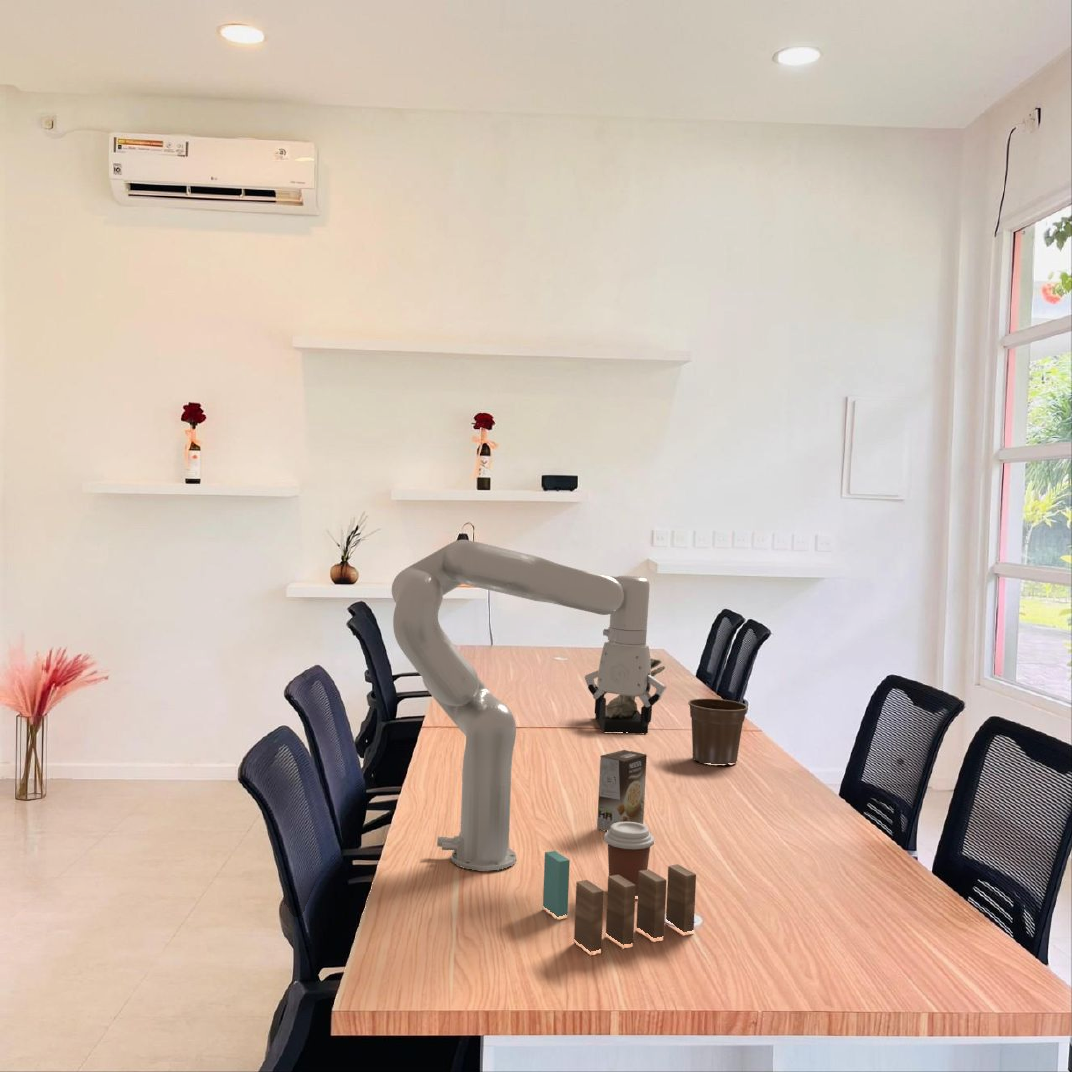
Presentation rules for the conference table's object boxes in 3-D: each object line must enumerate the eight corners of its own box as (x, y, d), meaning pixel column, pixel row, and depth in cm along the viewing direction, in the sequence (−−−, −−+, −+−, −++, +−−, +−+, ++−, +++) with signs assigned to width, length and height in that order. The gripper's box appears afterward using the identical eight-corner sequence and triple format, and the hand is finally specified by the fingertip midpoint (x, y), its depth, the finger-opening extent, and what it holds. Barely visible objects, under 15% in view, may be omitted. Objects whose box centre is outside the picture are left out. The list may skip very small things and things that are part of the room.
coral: (594, 716, 338) (596, 651, 338) (655, 717, 339) (658, 653, 338) (601, 733, 313) (604, 663, 313) (667, 735, 314) (670, 665, 313)
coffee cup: (620, 879, 192) (623, 816, 192) (661, 892, 186) (664, 827, 186) (591, 892, 185) (594, 827, 184) (633, 906, 179) (636, 839, 179)
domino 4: (683, 936, 168) (686, 876, 167) (665, 924, 172) (668, 866, 172) (693, 934, 169) (696, 874, 168) (675, 922, 173) (677, 864, 173)
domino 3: (653, 942, 165) (656, 881, 164) (636, 930, 169) (638, 871, 169) (663, 940, 166) (666, 879, 165) (646, 928, 170) (648, 869, 170)
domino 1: (590, 956, 159) (593, 892, 159) (573, 943, 163) (576, 881, 163) (601, 953, 160) (603, 890, 160) (584, 941, 164) (587, 879, 164)
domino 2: (622, 949, 162) (625, 887, 162) (605, 936, 166) (608, 876, 166) (633, 947, 163) (635, 885, 163) (615, 934, 167) (618, 874, 167)
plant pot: (742, 756, 291) (744, 699, 290) (748, 770, 275) (751, 711, 274) (684, 752, 293) (686, 696, 292) (687, 767, 276) (689, 707, 276)
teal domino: (557, 920, 172) (559, 861, 172) (542, 909, 177) (544, 852, 176) (567, 918, 173) (569, 860, 173) (552, 907, 177) (554, 850, 177)
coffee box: (620, 836, 217) (623, 761, 216) (596, 829, 221) (599, 755, 220) (644, 826, 224) (647, 754, 223) (620, 820, 228) (623, 748, 227)
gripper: (580, 634, 206) (575, 718, 207) (661, 644, 198) (655, 731, 199) (596, 631, 213) (590, 712, 214) (674, 640, 205) (669, 725, 206)
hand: (622, 721), depth 206 cm, fingers open, 9 cm apart
